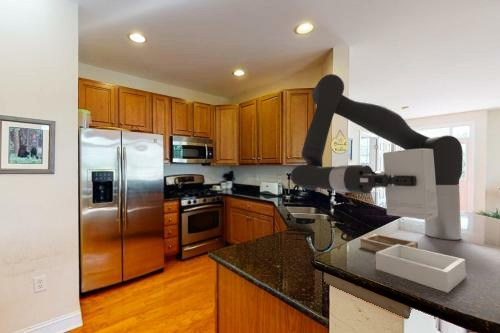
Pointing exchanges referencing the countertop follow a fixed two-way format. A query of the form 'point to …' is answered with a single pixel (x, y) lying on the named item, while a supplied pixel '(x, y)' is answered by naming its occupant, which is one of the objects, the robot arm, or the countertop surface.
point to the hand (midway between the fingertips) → (422, 180)
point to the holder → (384, 242)
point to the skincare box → (412, 197)
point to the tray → (422, 266)
